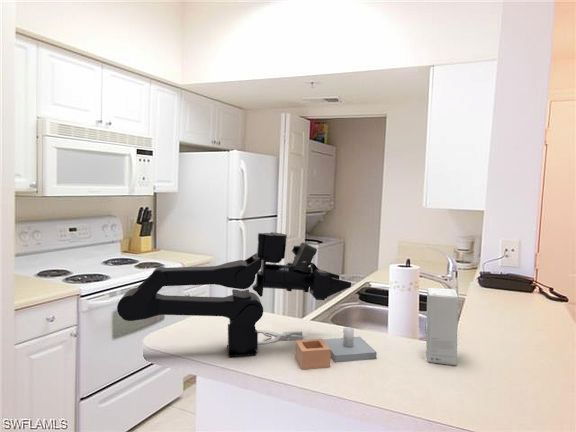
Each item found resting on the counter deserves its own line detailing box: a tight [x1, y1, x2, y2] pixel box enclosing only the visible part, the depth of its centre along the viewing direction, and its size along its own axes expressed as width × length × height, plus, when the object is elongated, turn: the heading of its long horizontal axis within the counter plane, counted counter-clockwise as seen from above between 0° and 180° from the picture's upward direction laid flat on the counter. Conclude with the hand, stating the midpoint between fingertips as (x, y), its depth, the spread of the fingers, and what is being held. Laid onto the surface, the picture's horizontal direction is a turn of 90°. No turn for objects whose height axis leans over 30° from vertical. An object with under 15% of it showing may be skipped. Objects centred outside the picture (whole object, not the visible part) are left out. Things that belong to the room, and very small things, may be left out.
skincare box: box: [426, 287, 459, 366], centre depth 97 cm, size 8×7×16 cm
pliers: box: [256, 329, 304, 346], centre depth 109 cm, size 10×2×15 cm
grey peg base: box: [322, 327, 378, 363], centre depth 100 cm, size 10×10×6 cm
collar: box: [294, 338, 331, 370], centre depth 94 cm, size 6×6×4 cm
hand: (344, 280), depth 103 cm, fingers open, 9 cm apart
